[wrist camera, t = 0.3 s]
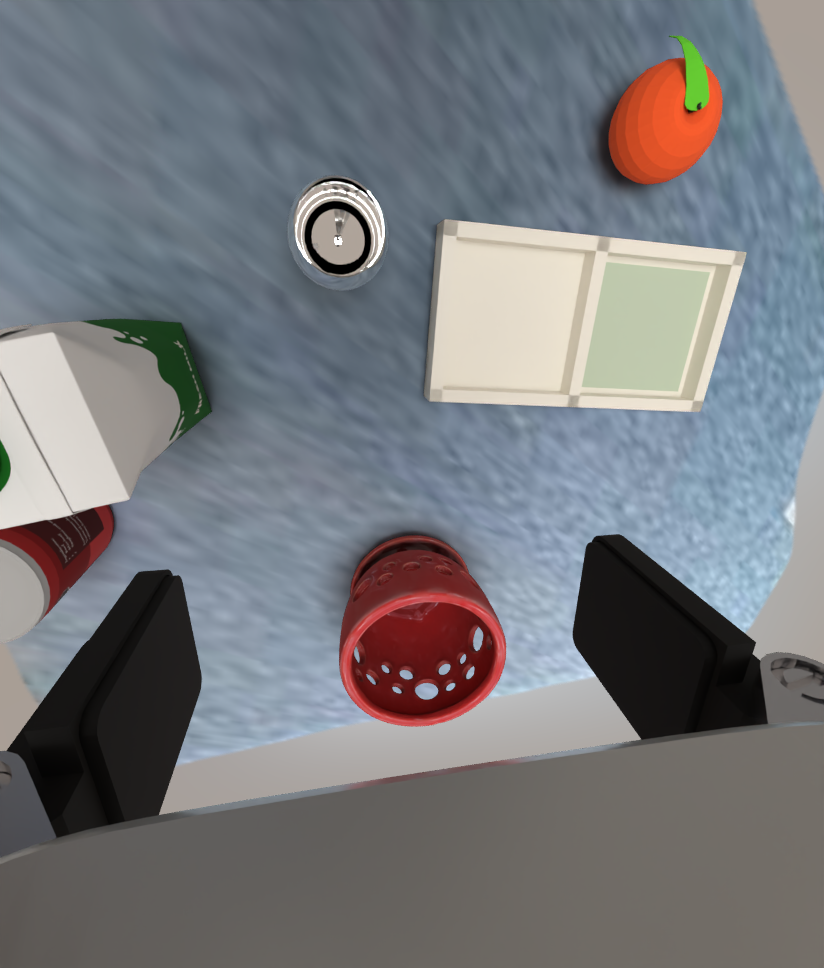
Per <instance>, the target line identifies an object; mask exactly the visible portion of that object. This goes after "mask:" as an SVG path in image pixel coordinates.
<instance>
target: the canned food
mask: <svg viewBox="0 0 824 968" xmlns="http://www.w3.org/2000/svg"><path fill="white" fill-rule="evenodd" d="M113 528H114V519H113V515H112V511H111V509H110V507H109V505H104V506H99V507H94V508H91V509H88V510H85V511H82V512H79V513H76V514H73V515H70V516H66V517H62V518H57V519H52V520H43V521H38V522H34V523H29V524H24V525H20V526H15V527H10V528H5V529H1V530H0V644H3V643H6V642H10V641H13V640H15V639H17V638H19V637H21V636H23V635H25V634H26V633H27V632H28V631H30V630H31V629H32V628H33V627H34V626H36V625H37V624H38V623H39V622H40V621H41V620H42V619H43V618H44V617H45V616H46V615H47V614H48V613H49V611H50V610H51V609H52V608H53V607H54V606H55V605H56V604H57V603H58V601H59V600H60V599H61V598H62V597H63V596H64V595H65V594H66V593H67V591H68V590H69V589H70V588H71V587H72V586H73V585H74V584H75V582H76V581H77V580H78V579H79V578H80V577H81V576H82V575H83V574H84V572H85V571H86V570H87V569H88V568H89V567H90V566H91V565H92V564H93V562H94V561H95V560H96V559H97V558H98V557H99V556H100V555H101V554H102V552H103V551H104V550H105V549H106V548H107V546H108V544H109V542H110V540H111V536H112V532H113Z"/></svg>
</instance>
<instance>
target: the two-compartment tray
mask: <svg viewBox="0 0 824 968" xmlns="http://www.w3.org/2000/svg"><path fill="white" fill-rule="evenodd" d="M746 253H747V252H738V251H729V250H720V249H711V248H702V247H693V246H684V245H675V244H666V243H656V242H647V241H638V240H629V239H620V238H611V237H602V236H593V235H584V234H575V233H565V232H556V231H547V230H538V229H529V228H520V227H511V226H502V225H493V224H484V223H474V222H465V221H456V220H447V219H444V220H443V221H441V222H440V223H439V224H437V234H436V246H435V259H434V272H433V285H432V297H431V310H430V323H429V335H428V348H427V361H426V374H425V386H424V396H425V397H426V398H427V399H428V400H429V401H432V402H457V403H483V404H508V405H534V406H559V407H584V408H610V409H635V410H661V411H686V412H700V411H701V408H702V404H703V401H704V397H705V394H706V390H707V387H708V384H709V380H710V377H711V373H712V370H713V366H714V363H715V360H716V356H717V353H718V349H719V346H720V342H721V339H722V336H723V332H724V329H725V325H726V322H727V319H728V315H729V312H730V308H731V305H732V301H733V298H734V295H735V291H736V288H737V284H738V281H739V277H740V274H741V271H742V267H743V264H744V260H745V257H746Z"/></svg>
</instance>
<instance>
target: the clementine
mask: <svg viewBox="0 0 824 968" xmlns="http://www.w3.org/2000/svg"><path fill="white" fill-rule="evenodd" d="M669 37H673V38H677V39H678V41H679V42H680V44H681V45H682V49H683V52H684V57H685V58H676V59H668V60H666V61H664V62H662V63H660V64H658V65H656V66H654V67H651V68H649V69H647V70H646V71H645V72H644V73H643V74H641V75H640V76H639V77H638V78H637V79H636V80H635V81H634V82H633V83H632V84H631V85H630V86H629V87H628V89H627V90H626V92H625V93H624V94H623V96H622V97H621V99H620V101H619V103H618V105H617V108H616V110H615V112H614V115H613V117H612V120H611V125H610V129H609V149H610V154H611V158H612V160H613V162H614V164H615V166H616V168H617V169H618V170H619V171H620V173H621V174H622V175H623V176H625V177H627V178H629V179H630V180H632V181H634V182H636V183H641V184H646V185H647V184H655V183H661V182H666V181H669V180H671V179H673V178H675V177H677V176H679V175H680V174H682V173H684V172H685V171H687V170H688V169H689V168H690V167H691V166H693V165H694V164H695V163H696V162H697V161H698V159H699V158H700V157H701V156H702V155H703V153H704V152H705V151H706V149H707V148H708V147H709V145H710V144H711V142H712V140H713V138H714V136H715V134H716V132H717V129H718V125H719V122H720V118H721V113H722V102H723V101H722V92H721V88H720V85H719V82H718V80H717V78H716V77H715V75H714V74H713V73H712V71H711V70H710V69H709V67H707V66H706V65H704V63H703V61H702V58H701V56H700V54H699V53H698V51H697V49H696V48H695V47H694V45H693V44H692V43H691V41H689V40H687V39H686V38H684V37H682V36H669Z"/></svg>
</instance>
